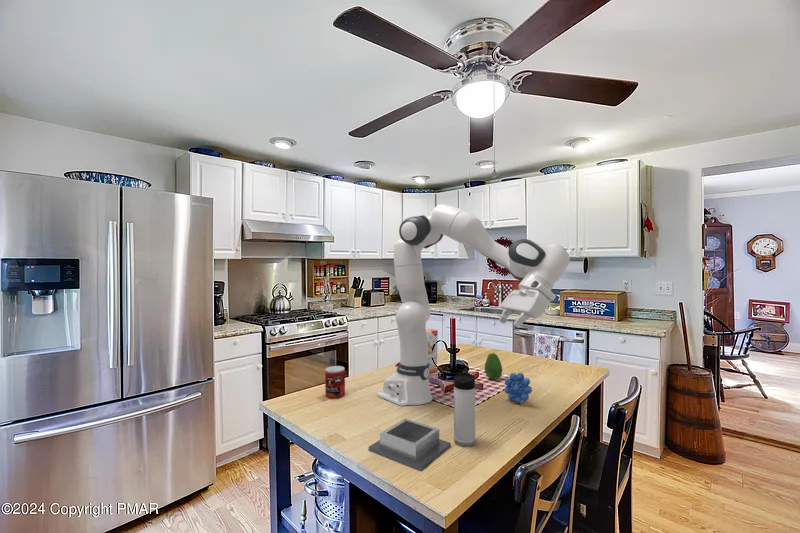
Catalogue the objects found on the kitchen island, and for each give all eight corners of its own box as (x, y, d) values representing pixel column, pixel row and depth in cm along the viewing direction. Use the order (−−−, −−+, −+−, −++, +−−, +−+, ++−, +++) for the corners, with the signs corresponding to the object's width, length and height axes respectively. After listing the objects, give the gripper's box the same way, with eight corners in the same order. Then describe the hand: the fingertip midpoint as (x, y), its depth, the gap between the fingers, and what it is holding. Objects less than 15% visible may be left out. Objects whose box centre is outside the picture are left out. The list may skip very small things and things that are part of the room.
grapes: (537, 404, 139) (537, 373, 139) (528, 409, 135) (528, 377, 135) (510, 396, 148) (510, 366, 148) (500, 400, 144) (500, 369, 144)
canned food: (321, 397, 148) (321, 370, 148) (332, 391, 155) (332, 365, 155) (338, 400, 145) (337, 372, 145) (348, 393, 152) (348, 366, 152)
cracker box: (416, 377, 173) (416, 333, 172) (408, 374, 177) (408, 331, 177) (438, 372, 181) (438, 329, 181) (429, 369, 186) (429, 328, 186)
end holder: (368, 450, 106) (368, 433, 106) (401, 429, 119) (401, 414, 119) (420, 471, 95) (420, 451, 95) (450, 446, 108) (450, 429, 108)
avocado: (490, 375, 175) (490, 350, 175) (505, 379, 169) (505, 353, 169) (480, 379, 170) (480, 353, 170) (495, 383, 164) (495, 356, 164)
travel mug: (477, 438, 113) (477, 373, 113) (472, 448, 107) (472, 379, 107) (457, 434, 115) (457, 371, 115) (451, 444, 109) (451, 377, 109)
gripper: (510, 282, 126) (487, 314, 125) (543, 283, 106) (516, 321, 105) (524, 293, 127) (500, 325, 125) (559, 297, 107) (532, 335, 105)
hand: (508, 324), depth 115 cm, fingers open, 8 cm apart
